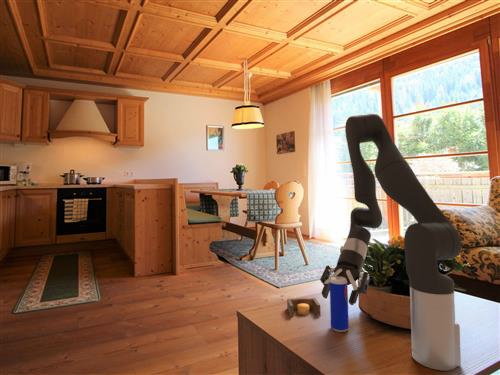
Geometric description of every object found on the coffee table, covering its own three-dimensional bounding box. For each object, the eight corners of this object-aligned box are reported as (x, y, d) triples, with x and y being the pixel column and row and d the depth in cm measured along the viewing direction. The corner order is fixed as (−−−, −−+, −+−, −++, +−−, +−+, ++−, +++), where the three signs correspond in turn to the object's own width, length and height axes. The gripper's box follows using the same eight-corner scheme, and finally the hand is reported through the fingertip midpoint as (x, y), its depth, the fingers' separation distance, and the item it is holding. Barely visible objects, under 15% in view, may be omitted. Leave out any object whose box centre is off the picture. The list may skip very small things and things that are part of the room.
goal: (315, 307, 107) (315, 297, 107) (320, 315, 100) (320, 305, 100) (287, 308, 106) (287, 298, 106) (290, 316, 99) (290, 305, 99)
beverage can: (349, 333, 87) (348, 281, 87) (331, 331, 88) (330, 280, 88) (347, 325, 92) (346, 276, 92) (330, 324, 93) (329, 275, 93)
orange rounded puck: (307, 310, 105) (307, 303, 105) (310, 314, 101) (310, 307, 101) (296, 310, 104) (296, 303, 104) (299, 315, 100) (299, 307, 100)
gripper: (328, 246, 101) (311, 288, 92) (371, 251, 91) (356, 299, 82) (336, 259, 105) (320, 301, 96) (378, 265, 95) (364, 312, 86)
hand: (337, 300), depth 89 cm, fingers open, 8 cm apart
